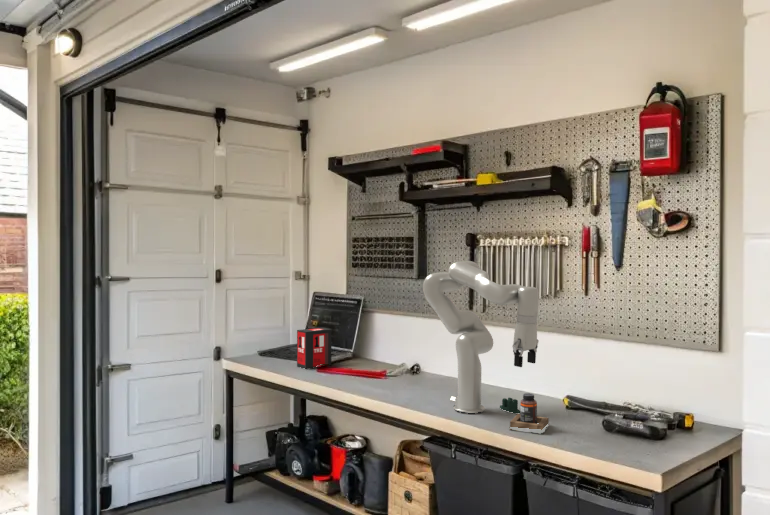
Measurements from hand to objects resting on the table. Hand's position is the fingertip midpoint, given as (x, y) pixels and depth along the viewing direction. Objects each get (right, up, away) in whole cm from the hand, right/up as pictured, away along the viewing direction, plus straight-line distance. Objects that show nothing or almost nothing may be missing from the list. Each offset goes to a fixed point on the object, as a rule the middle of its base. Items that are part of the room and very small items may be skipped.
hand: (524, 364), depth 235 cm
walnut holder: (0, -22, -6) cm, 23 cm away
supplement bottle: (0, -22, -5) cm, 22 cm away
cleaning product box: (-91, -19, +106) cm, 141 cm away
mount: (-2, -22, +18) cm, 28 cm away
